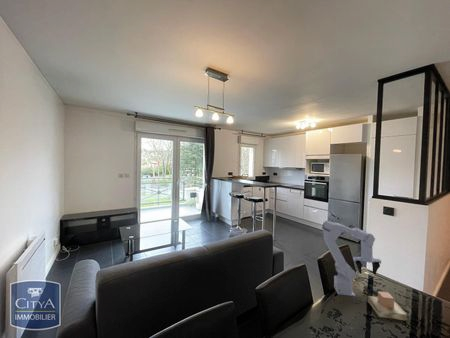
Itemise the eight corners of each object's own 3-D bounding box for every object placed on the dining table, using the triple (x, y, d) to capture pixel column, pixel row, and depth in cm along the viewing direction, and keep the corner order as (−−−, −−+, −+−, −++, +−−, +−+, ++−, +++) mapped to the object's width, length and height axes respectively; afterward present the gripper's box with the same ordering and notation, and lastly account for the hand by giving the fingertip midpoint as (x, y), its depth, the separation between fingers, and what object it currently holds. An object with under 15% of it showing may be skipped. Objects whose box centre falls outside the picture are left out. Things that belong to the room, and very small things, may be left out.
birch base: (379, 316, 99) (379, 310, 99) (367, 301, 111) (367, 295, 111) (407, 320, 96) (407, 314, 96) (392, 304, 108) (392, 298, 108)
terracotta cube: (382, 306, 102) (382, 297, 102) (377, 300, 106) (377, 291, 107) (394, 308, 100) (394, 298, 100) (388, 301, 105) (388, 292, 105)
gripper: (356, 253, 120) (356, 275, 120) (383, 255, 116) (384, 278, 116) (351, 248, 127) (352, 269, 127) (377, 250, 123) (378, 272, 123)
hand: (367, 273), depth 122 cm, fingers open, 7 cm apart
